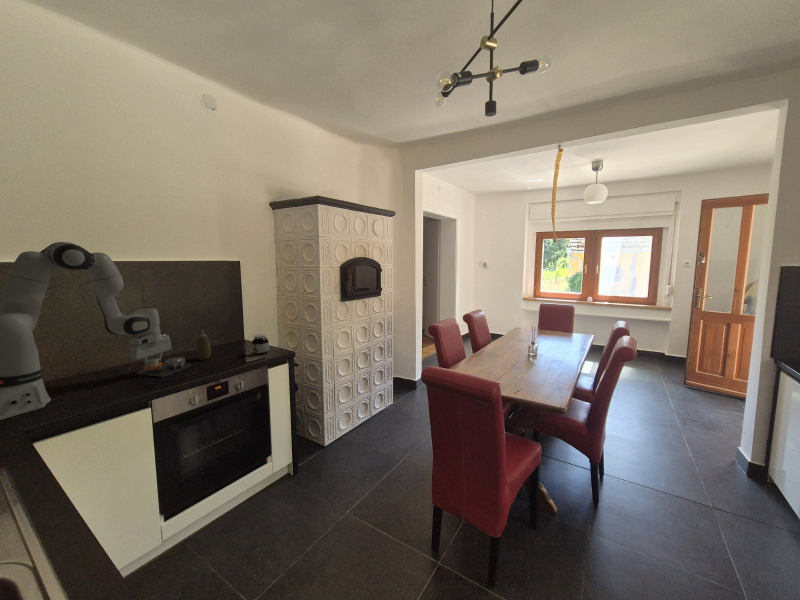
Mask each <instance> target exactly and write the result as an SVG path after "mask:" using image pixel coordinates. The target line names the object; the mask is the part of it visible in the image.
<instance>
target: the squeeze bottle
mask: <svg viewBox="0 0 800 600" xmlns="http://www.w3.org/2000/svg"><path fill="white" fill-rule="evenodd" d="M199 332H200V334H199V335H197V339H196V342H195V343H196V344H195V355H196V357H197V359H198V360H201V361H203V360H204V359H205V360H208V359H210V358H211V354H212V349H211V343H210V338H208V335H207V334H205V331H204V329H202V328H201V329H200V331H199Z"/></svg>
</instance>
